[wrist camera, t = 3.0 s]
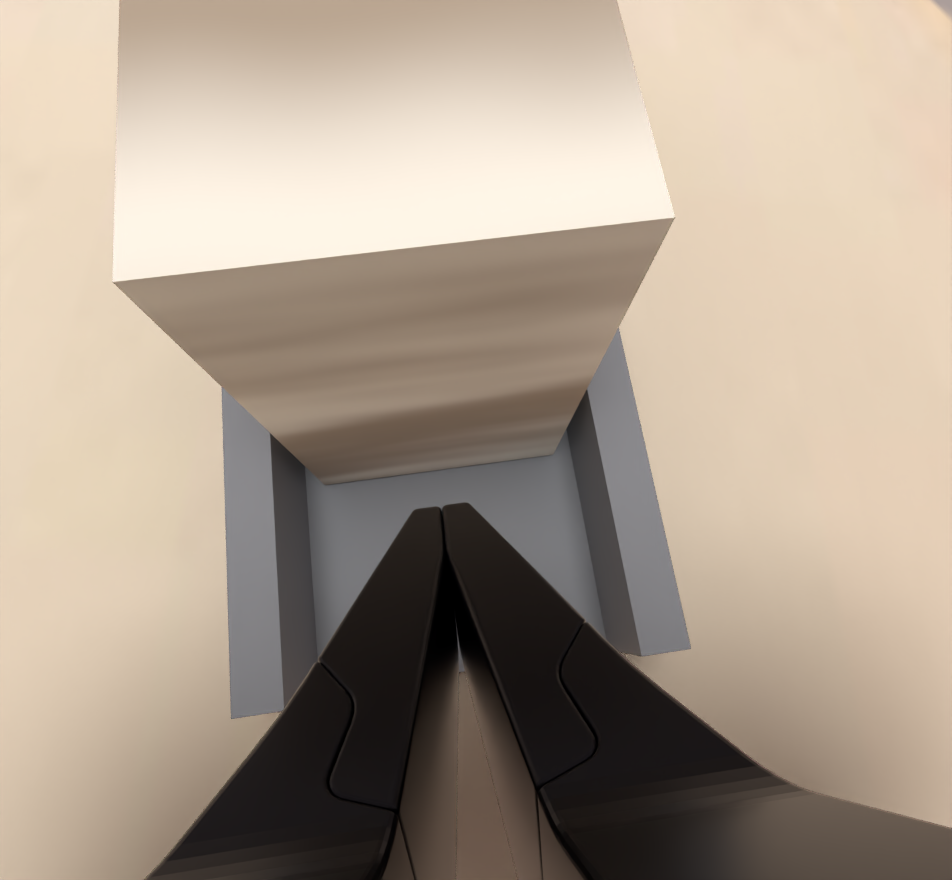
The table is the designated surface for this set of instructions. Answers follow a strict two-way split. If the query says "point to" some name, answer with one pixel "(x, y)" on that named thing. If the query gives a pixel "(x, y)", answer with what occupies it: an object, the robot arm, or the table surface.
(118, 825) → the table surface
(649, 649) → the gray chute
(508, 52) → the cream block
